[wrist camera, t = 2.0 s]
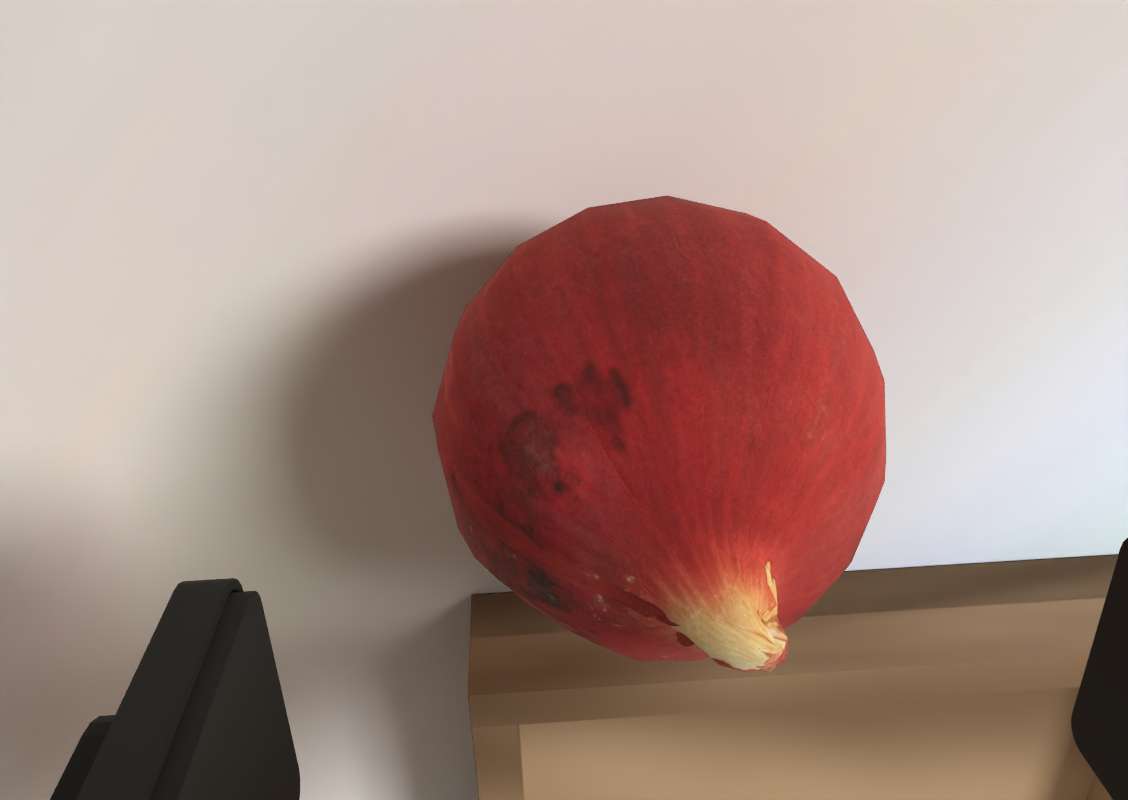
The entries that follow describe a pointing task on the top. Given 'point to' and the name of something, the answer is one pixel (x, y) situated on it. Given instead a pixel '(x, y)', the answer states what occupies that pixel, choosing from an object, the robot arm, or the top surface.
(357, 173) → the top surface
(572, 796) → the walnut tray
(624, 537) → the onion
